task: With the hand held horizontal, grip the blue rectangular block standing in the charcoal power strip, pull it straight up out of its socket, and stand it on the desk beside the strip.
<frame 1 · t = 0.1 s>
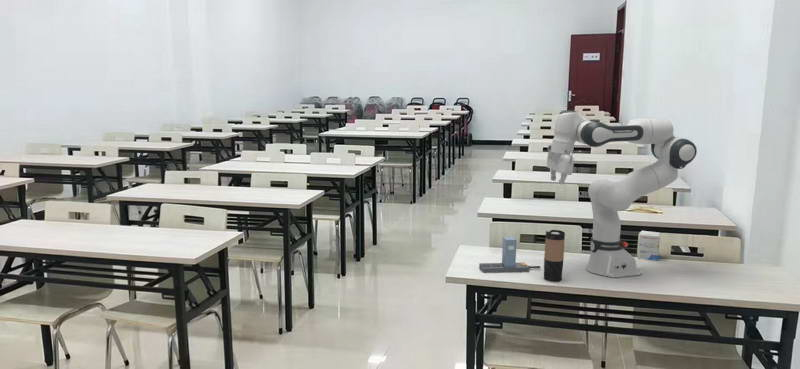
hand: (557, 182, 246), 39 cm above the table, tool pointing down, fingers open, 8 cm apart
ink box: (648, 257, 276), on the table
blue rectangular block: (508, 269, 255), resting in power strip
travel mug: (552, 279, 243), on the table
power strip: (503, 269, 254), on the table
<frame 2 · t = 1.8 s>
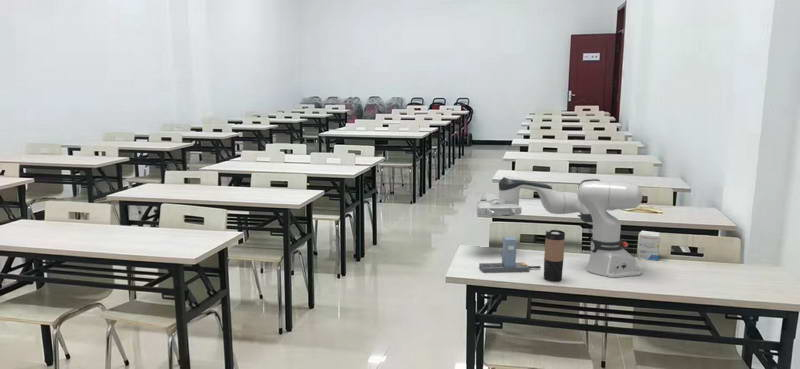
hand: (503, 213, 263), 22 cm above the table, tool horizontal, fingers open, 8 cm apart
nothing on the table moved.
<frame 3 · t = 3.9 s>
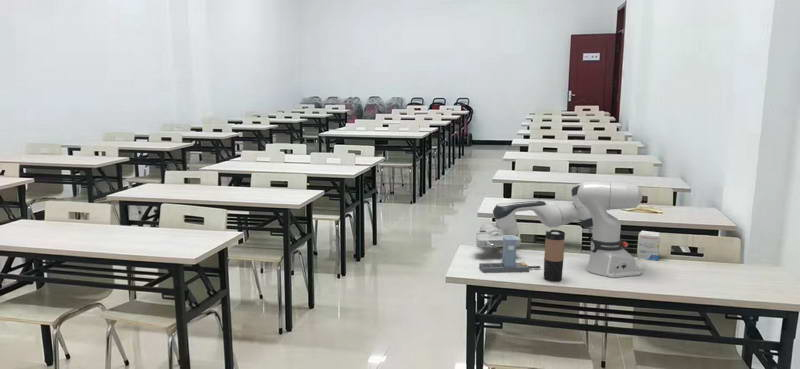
hand: (502, 246, 263), 8 cm above the table, tool horizontal, fingers open, 8 cm apart
nothing on the table moved.
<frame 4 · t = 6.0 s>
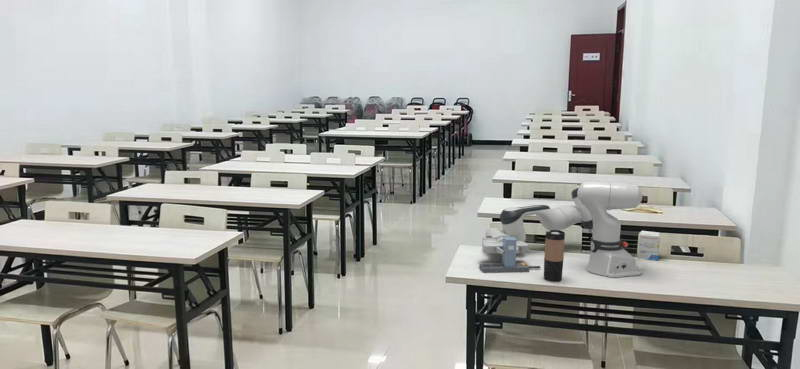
hand: (509, 252, 252), 8 cm above the table, tool horizontal, fingers closed on blue rectangular block, 5 cm apart
blue rectangular block: (508, 269, 255), resting in power strip, touching gripper
everything else where it was.
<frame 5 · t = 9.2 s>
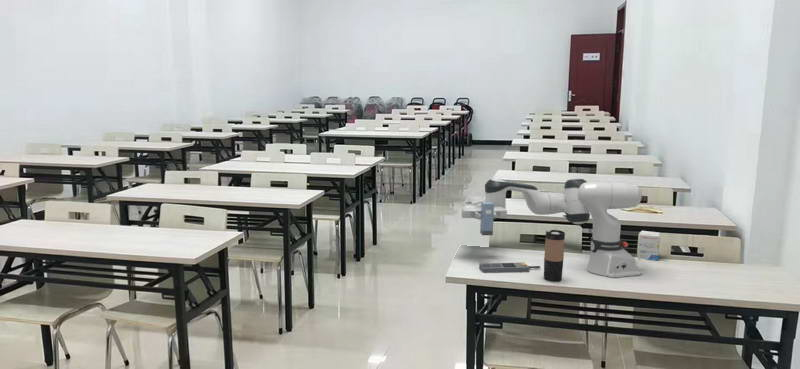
hand: (487, 216, 258), 22 cm above the table, tool horizontal, fingers closed on blue rectangular block, 5 cm apart
blue rectangular block: (486, 233, 261), point 14 cm above the table, touching gripper
everything else where it was.
when the fingers open (9 cm above the table, at t = 12.1 s): blue rectangular block drops 1 cm, on the table.
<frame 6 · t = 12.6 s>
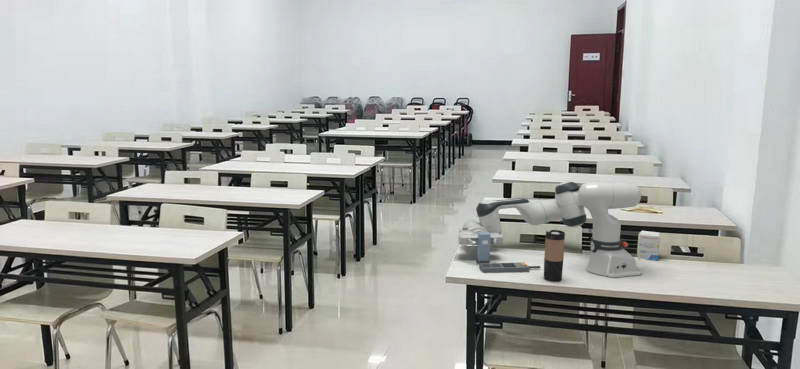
hand: (484, 243, 260), 9 cm above the table, tool horizontal, fingers open, 8 cm apart
blue rectangular block: (483, 263, 263), on the table
everything else where it was.
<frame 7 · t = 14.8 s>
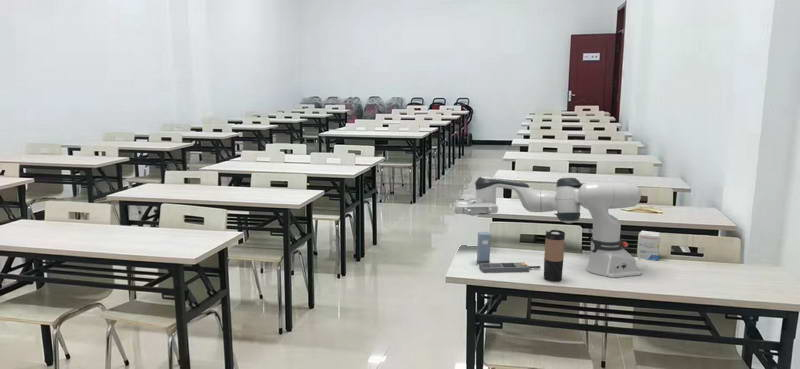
hand: (479, 211, 270), 21 cm above the table, tool horizontal, fingers open, 8 cm apart
nothing on the table moved.
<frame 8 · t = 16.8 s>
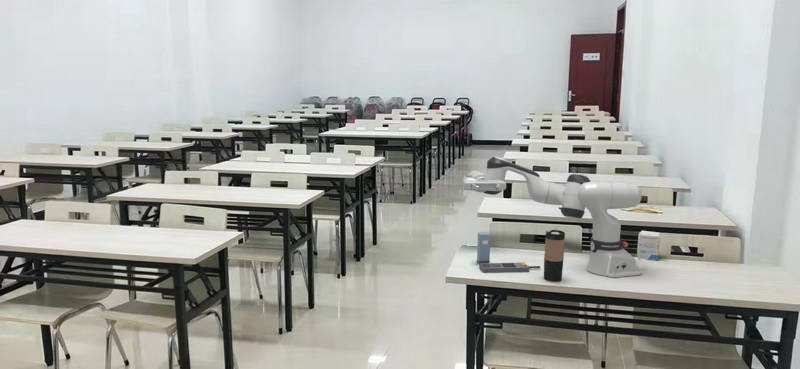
hand: (487, 188, 269), 32 cm above the table, tool horizontal, fingers open, 8 cm apart
nothing on the table moved.
at the end: blue rectangular block inside the target area (0.1 cm from its centre), on the table; blue rectangular block touching table; blue rectangular block tilted 0° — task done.
